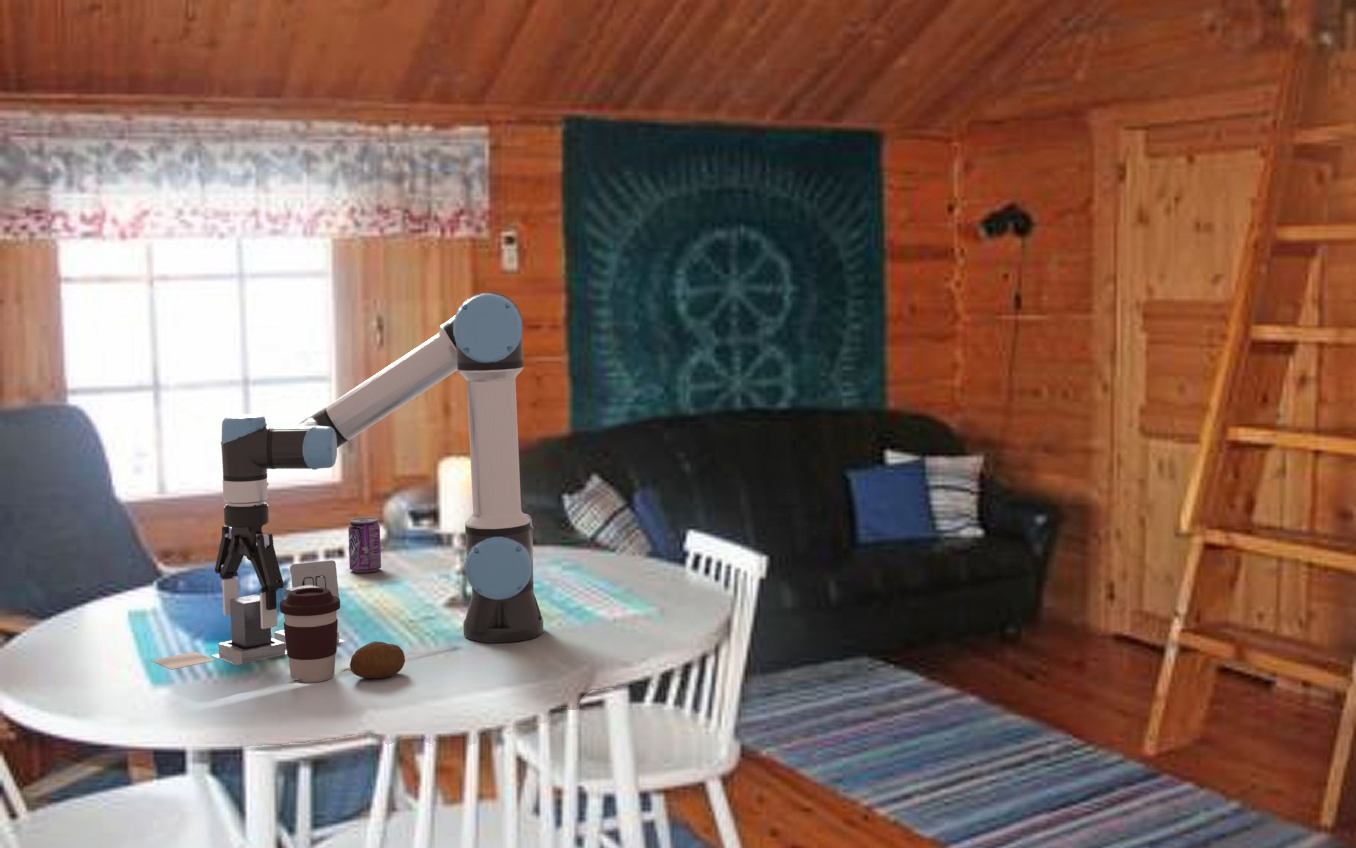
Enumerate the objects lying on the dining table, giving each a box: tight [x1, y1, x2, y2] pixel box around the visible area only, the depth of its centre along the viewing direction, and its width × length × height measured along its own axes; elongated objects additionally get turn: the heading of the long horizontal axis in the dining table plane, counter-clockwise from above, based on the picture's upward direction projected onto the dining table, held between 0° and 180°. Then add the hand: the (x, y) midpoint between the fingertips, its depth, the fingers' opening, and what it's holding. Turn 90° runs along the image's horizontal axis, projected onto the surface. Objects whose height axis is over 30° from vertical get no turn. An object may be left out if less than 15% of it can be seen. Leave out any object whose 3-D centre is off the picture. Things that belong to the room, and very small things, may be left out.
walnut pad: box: [151, 651, 216, 670], centre depth 250 cm, size 8×8×1 cm
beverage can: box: [347, 516, 382, 574], centre depth 328 cm, size 7×7×12 cm
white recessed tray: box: [211, 629, 346, 666], centre depth 258 cm, size 9×22×3 cm, turn 135°
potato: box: [349, 640, 406, 679], centre depth 242 cm, size 7×10×6 cm
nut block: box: [230, 594, 272, 650], centre depth 254 cm, size 5×5×10 cm
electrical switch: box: [289, 559, 340, 598], centre depth 295 cm, size 9×5×9 cm, turn 116°
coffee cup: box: [279, 587, 341, 684], centre depth 242 cm, size 10×10×15 cm
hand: (249, 620), depth 254 cm, fingers open, 13 cm apart
